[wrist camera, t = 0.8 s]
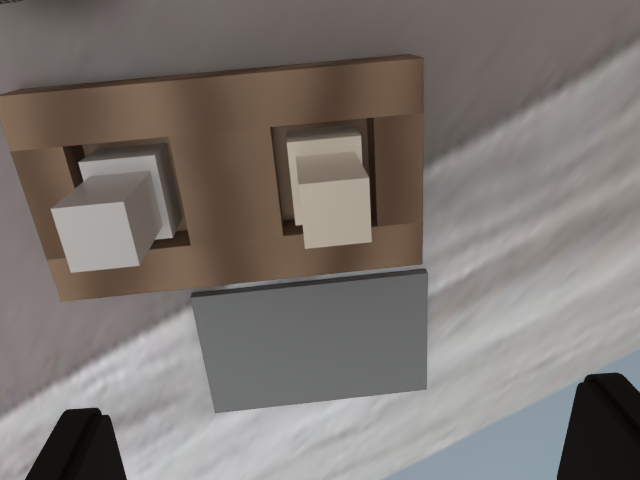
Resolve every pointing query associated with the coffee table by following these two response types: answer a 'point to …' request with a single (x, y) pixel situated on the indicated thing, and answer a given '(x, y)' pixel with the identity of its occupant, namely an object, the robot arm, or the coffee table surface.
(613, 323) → the coffee table surface
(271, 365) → the mat
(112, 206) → the grey plug
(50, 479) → the robot arm
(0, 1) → the cup
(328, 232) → the ivory plug
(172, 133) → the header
